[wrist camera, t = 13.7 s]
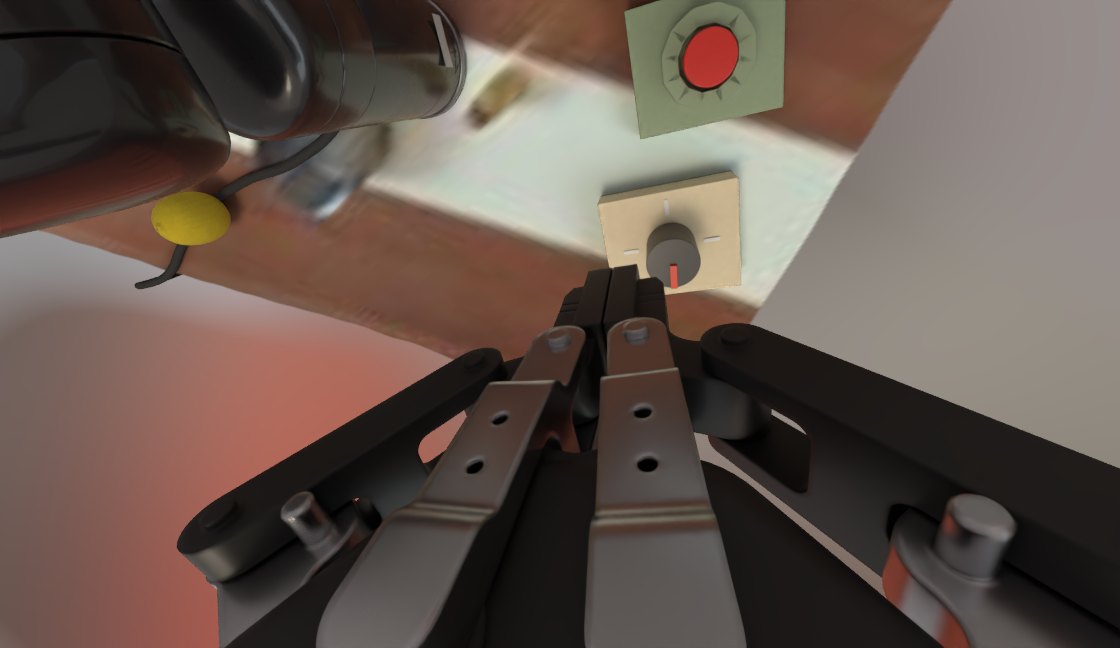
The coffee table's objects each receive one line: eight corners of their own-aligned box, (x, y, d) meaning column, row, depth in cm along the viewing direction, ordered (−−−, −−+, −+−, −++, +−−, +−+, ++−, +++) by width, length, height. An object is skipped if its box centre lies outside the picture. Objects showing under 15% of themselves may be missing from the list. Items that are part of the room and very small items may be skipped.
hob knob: (644, 225, 37) (644, 243, 33) (694, 219, 36) (700, 236, 32) (648, 270, 40) (648, 291, 36) (696, 265, 38) (701, 287, 34)
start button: (684, 92, 31) (686, 93, 30) (679, 37, 30) (681, 35, 28) (734, 80, 30) (738, 80, 29) (732, 22, 29) (737, 18, 27)
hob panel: (617, 288, 44) (615, 301, 42) (600, 196, 40) (597, 204, 37) (735, 272, 41) (741, 286, 39) (732, 170, 37) (738, 177, 34)
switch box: (640, 136, 37) (640, 142, 33) (625, 15, 32) (622, 7, 29) (775, 105, 34) (790, 107, 30) (777, -33, 29) (794, -48, 26)
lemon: (206, 174, 47) (131, 190, 40) (251, 205, 48) (185, 225, 41) (200, 212, 49) (129, 233, 43) (242, 240, 50) (180, 265, 44)
